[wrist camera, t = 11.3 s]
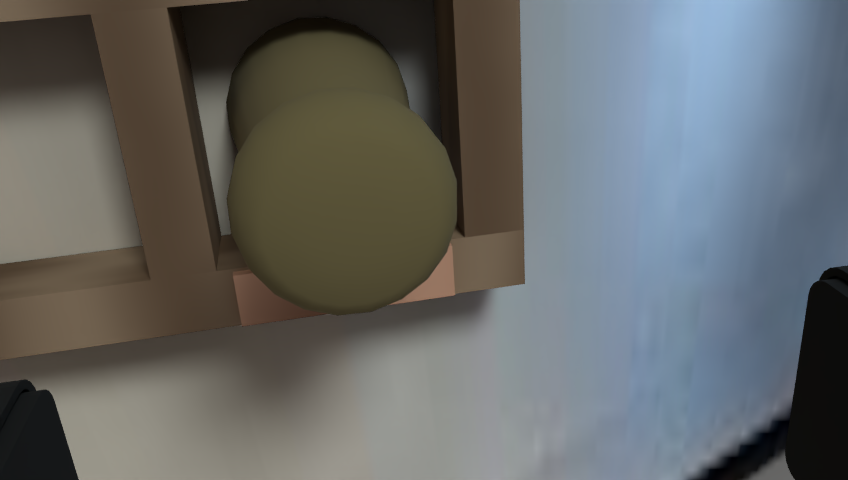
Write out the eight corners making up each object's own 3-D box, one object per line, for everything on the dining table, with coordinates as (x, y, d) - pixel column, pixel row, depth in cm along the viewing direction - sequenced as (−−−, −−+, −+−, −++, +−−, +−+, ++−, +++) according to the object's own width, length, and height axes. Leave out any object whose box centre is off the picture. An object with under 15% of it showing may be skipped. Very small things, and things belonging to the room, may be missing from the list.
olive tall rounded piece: (397, 200, 28) (469, 359, 18) (222, 189, 27) (198, 354, 17) (418, 27, 26) (514, 100, 16) (230, 5, 25) (206, 71, 15)
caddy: (490, -97, 25) (521, -99, 22) (500, 249, 30) (527, 287, 27) (-282, -41, 22) (-369, -33, 19) (-132, 337, 26) (-183, 391, 23)
